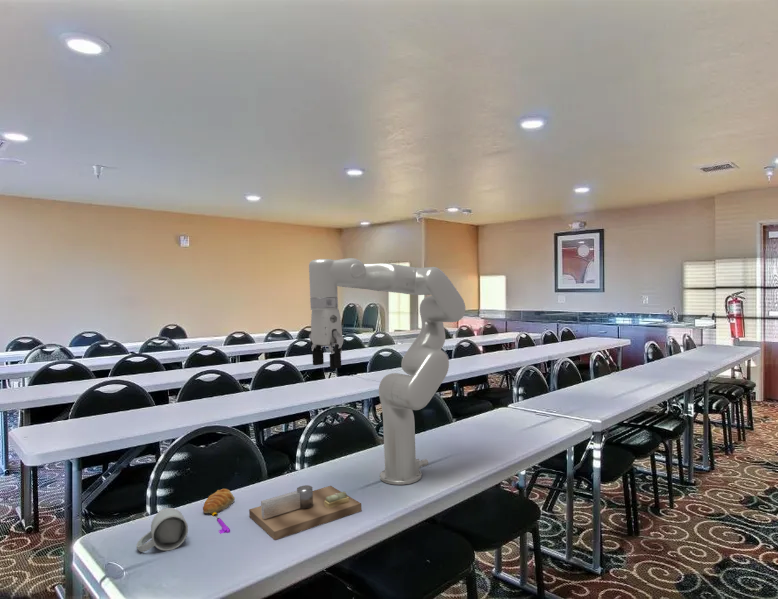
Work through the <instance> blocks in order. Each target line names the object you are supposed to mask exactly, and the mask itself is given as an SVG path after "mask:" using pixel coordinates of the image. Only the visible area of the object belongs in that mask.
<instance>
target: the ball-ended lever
mask: <svg viewBox="0 0 778 599" xmlns="http://www.w3.org/2000/svg"><path fill="white" fill-rule="evenodd" d="M313 491H314V489H313V486H312V485H306V484H305V485H301V486H300V485H299V486H298V487H296V490H295V491H294V490H293V491H291V492H288V493H284V494H280V495H277V496H275V497H274V496H273V497H270V498H267V499H263V500H261V501H260V504H261V505H260V506H261V510H262V518H263V519H267V518H270V517H273V516H277V515H280V514H283V513H286V512H290V511H293V510H296V509H299V508H303V509H304V508H309V507H312V506H313Z"/></svg>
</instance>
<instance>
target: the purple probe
mask: <svg viewBox="0 0 778 599" xmlns="http://www.w3.org/2000/svg"><path fill="white" fill-rule="evenodd" d="M210 514H211V516H212V517H216V521H217V523H218V524H219V526H220V527H221V529H219V530H218V533H219V534H220V535H221V534H224V533H225V534H226V533H227V534H228V533H230V532H231V529H230V527H229V526H227V525H226V523H225V522H224V521H223V520H222V518H221V517H218V512H217V513H216V512H214V513H210Z"/></svg>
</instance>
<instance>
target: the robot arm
mask: <svg viewBox="0 0 778 599" xmlns="http://www.w3.org/2000/svg"><path fill="white" fill-rule="evenodd" d="M308 273H309V296H310V298H309V300H310V301H309V304H310V311H311V314H310V315H311V316H310V318H311V319H310V333H309V335H308V337H309V340H310V346H311V352H312V354H311V355H312V365H313V366H320V365H321V366H322V365H324V363H325V361H324V358H325V357H324V350H323V347H328V349H329V351H330V353H329V368H330V370H335V369H341V368H342V352H343V348H344V345H343V344H344V341H345V340H344V336H343V328H342V319H341V314H340V311H339V296H338V287H340V288H341V287H342V288H350V289H360V290H369V291H377V292H388V293H394V294H396V293H398V294H405V295H413V296H426V297H424V298H423V299H422V300H421V302H420V304H419V314H420V320H421V329H420V330H419V333H418V335H417V337H416V338H415V340H414V341H413V342H412V344H411V345H410V346H409V348H408V350H407V351H406V352H405V354H404V355H403V357H402V359H401V366H400V367H401V369H402V371H403V372H404V374H403V373H397V372H393V373H389V374H386V375H384V377H383V378H382V379H381V380H380V382H379V385H378V395H379V396H378V397H379V401H380V405H381V412H382V426H383V429H382V430H383V449H384V450H383V452H384V453H383V454H384V455H383V456H384V457H383V458H384V470H382V471H381V472H380V473H379V478H380V481H382V483H383V482H384V483H386V484H390V485H394V486H395V485H399V486H401V485H409V484H410V485H411V484H414V483H417V482H418V481H420V480H421V478H422V476H423V475H422V472H421V470H420V469H421V468H423V467H426V466H427V467H428V466H429V461H428V459H427V458H424V459H422V460H420V459H419V458H417V455H416V454H417V453H416V452H417V451H416V433H415V432H416V431H415V428H416V427H415V415H414V411H419V410H421V409H424V408H425V407H426V406H428V404H429V403H430V401H431V400H432V398H433V397H434V395H435V394H436V392H437V391H438V389H439V387H441V384H442V383H443V382H444V380H445V378H446V377H447V375H448V371H449V368H450V367H449V366H450V361H449V357H448V354H447V353H446V352H445V351H444V350H442V349H443V347H444V345H445V342H446V332H445V326H444V323H456V322H459V321H461V320H462V319H463V318H464V316H465V313H466V303H465V301H464V299H463V297H462V296H461V294H460V292H459V291H458V290H457V288H456V287H455V286H454V284H453V282H452V281H451V280H450V278H449V277H448V276H447V275H446V273H445V272H444V271H442V270H441V269H440V268H439V267H436V266H429V267H428V266H427V267H426V266H425V267H414V266H408V265H402V264H396V263H395V264H394V263H390V262H389V263H387V262H386V263H385V262H381V263H380V262H379V263H363V261H361V260H360V259H357V258H354V257H349V258H341V259H330V258H316V259H313V260H310V262H309V264H308ZM416 458H417V459H416Z"/></svg>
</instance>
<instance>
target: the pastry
mask: <svg viewBox="0 0 778 599" xmlns="http://www.w3.org/2000/svg"><path fill="white" fill-rule="evenodd" d="M235 498H236V497H235V496H234V495H233V493H232V492H231V490H230V489H228V488H222V489H217V490H216V491H215V492H213V493H211V494H210V495H208V497H207V498H206V499H205V501H204V503H203V506H202V511H203V514H211V513H214V512H216V513H217V514H218V513H219V512H221V511H224V510H226V509H228V508H229V507H230V506H231V505H232V504H233V503H234V501H235Z"/></svg>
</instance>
